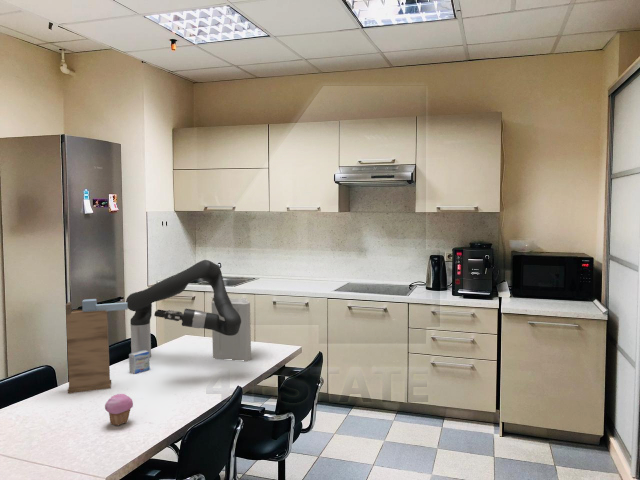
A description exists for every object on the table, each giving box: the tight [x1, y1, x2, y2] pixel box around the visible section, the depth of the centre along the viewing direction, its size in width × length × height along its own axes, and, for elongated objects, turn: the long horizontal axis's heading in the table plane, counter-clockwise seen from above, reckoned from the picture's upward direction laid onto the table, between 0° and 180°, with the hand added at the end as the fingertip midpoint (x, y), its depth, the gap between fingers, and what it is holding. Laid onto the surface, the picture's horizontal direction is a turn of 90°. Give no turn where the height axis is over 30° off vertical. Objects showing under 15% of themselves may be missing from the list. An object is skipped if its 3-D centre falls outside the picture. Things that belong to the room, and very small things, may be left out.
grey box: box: [211, 297, 252, 362], centre depth 250 cm, size 19×15×28 cm
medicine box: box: [128, 350, 151, 375], centre depth 229 cm, size 8×4×9 cm, turn 143°
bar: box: [81, 298, 129, 312], centre depth 207 cm, size 5×17×5 cm, turn 110°
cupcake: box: [104, 393, 134, 427], centre depth 172 cm, size 9×9×10 cm
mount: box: [65, 301, 112, 395], centre depth 206 cm, size 7×16×36 cm, turn 110°
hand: (155, 312), depth 212 cm, fingers open, 8 cm apart
